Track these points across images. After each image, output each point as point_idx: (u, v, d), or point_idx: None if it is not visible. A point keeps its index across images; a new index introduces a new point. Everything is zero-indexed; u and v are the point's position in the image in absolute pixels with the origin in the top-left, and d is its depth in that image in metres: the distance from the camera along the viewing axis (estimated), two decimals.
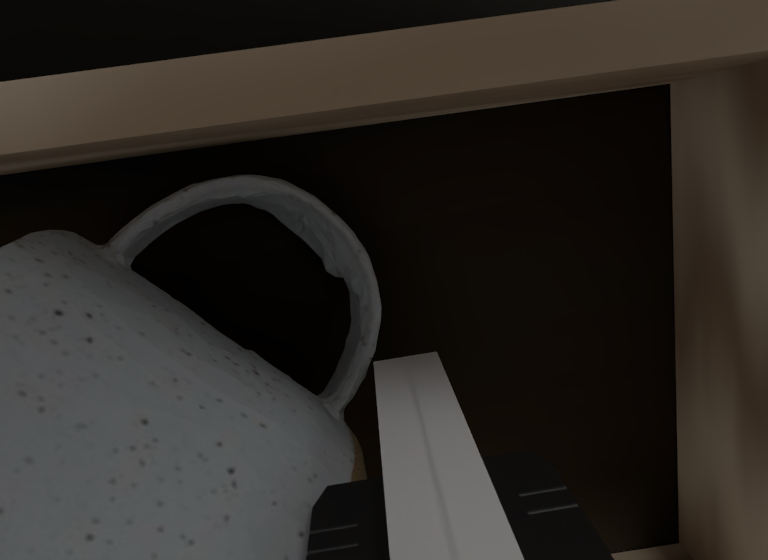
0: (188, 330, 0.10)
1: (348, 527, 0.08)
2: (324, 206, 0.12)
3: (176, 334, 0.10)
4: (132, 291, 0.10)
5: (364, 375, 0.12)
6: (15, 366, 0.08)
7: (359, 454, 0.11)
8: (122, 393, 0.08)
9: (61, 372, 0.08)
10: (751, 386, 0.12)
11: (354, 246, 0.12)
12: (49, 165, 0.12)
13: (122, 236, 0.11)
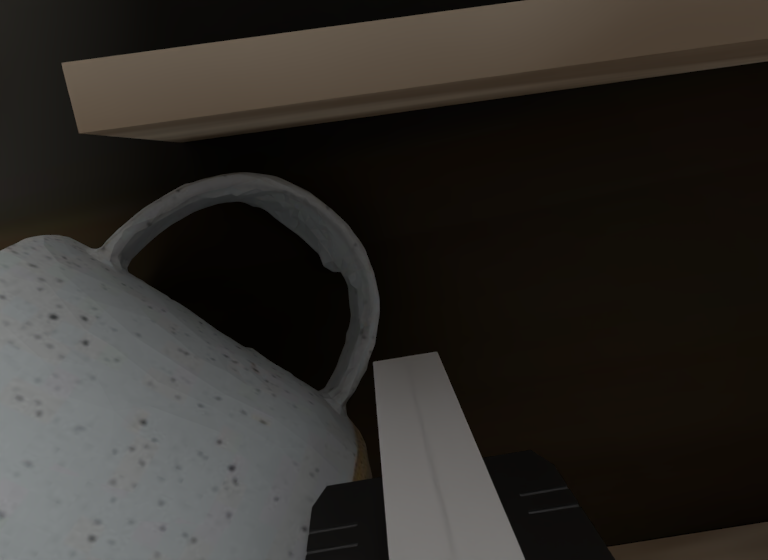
0: (185, 330, 0.10)
1: (347, 527, 0.08)
2: (318, 201, 0.12)
3: (173, 334, 0.10)
4: (128, 293, 0.10)
5: (365, 368, 0.12)
6: (12, 370, 0.08)
7: (362, 447, 0.11)
8: (120, 394, 0.08)
9: (57, 376, 0.08)
10: None
11: (350, 240, 0.12)
12: (391, 110, 0.12)
13: (116, 239, 0.11)
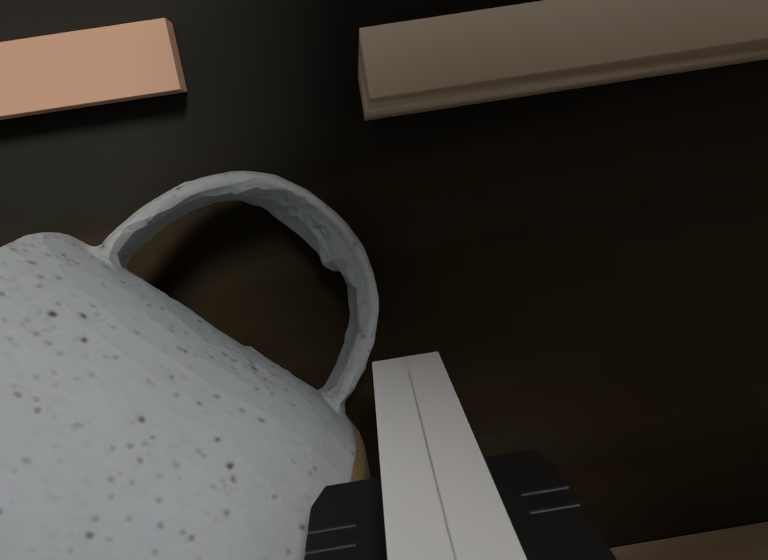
0: (184, 328, 0.10)
1: (346, 527, 0.08)
2: (317, 200, 0.12)
3: (172, 332, 0.10)
4: (127, 291, 0.10)
5: (364, 367, 0.12)
6: (10, 367, 0.08)
7: (361, 446, 0.11)
8: (118, 391, 0.08)
9: (55, 372, 0.08)
10: None
11: (349, 239, 0.12)
12: (585, 83, 0.12)
13: (116, 236, 0.11)
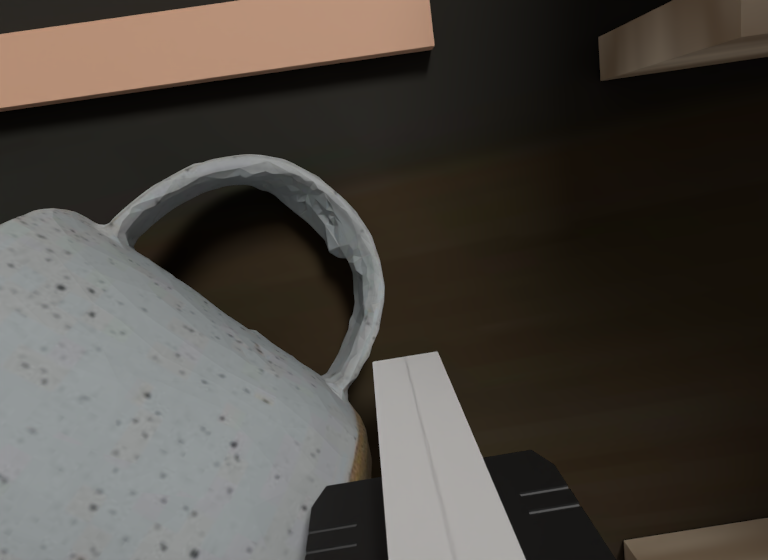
0: (191, 308, 0.10)
1: (347, 527, 0.08)
2: (326, 186, 0.12)
3: (179, 311, 0.10)
4: (135, 269, 0.10)
5: (368, 355, 0.12)
6: (18, 338, 0.08)
7: (363, 432, 0.11)
8: (124, 367, 0.08)
9: (63, 345, 0.08)
10: None
11: (357, 226, 0.12)
12: None
13: (124, 215, 0.11)
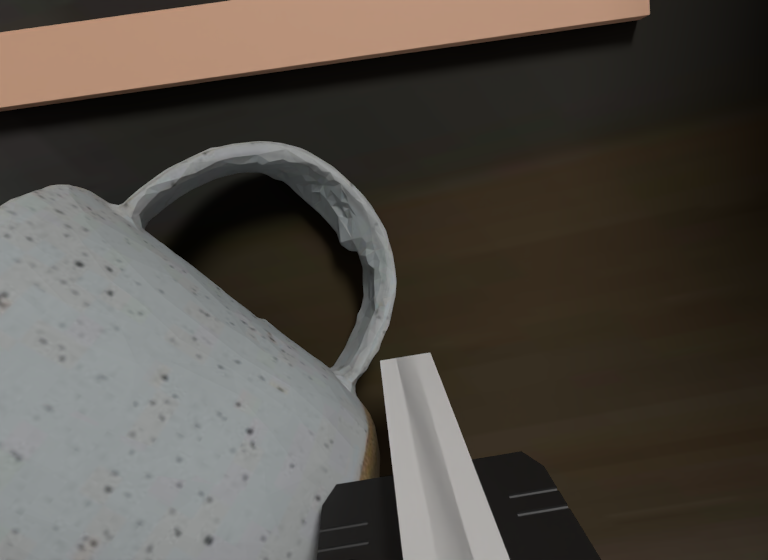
0: (205, 292, 0.10)
1: (358, 525, 0.08)
2: (343, 177, 0.12)
3: (194, 295, 0.10)
4: (150, 250, 0.10)
5: (377, 348, 0.12)
6: (37, 313, 0.08)
7: (372, 426, 0.11)
8: (142, 347, 0.08)
9: (82, 322, 0.08)
10: None
11: (371, 219, 0.12)
12: None
13: (140, 196, 0.11)
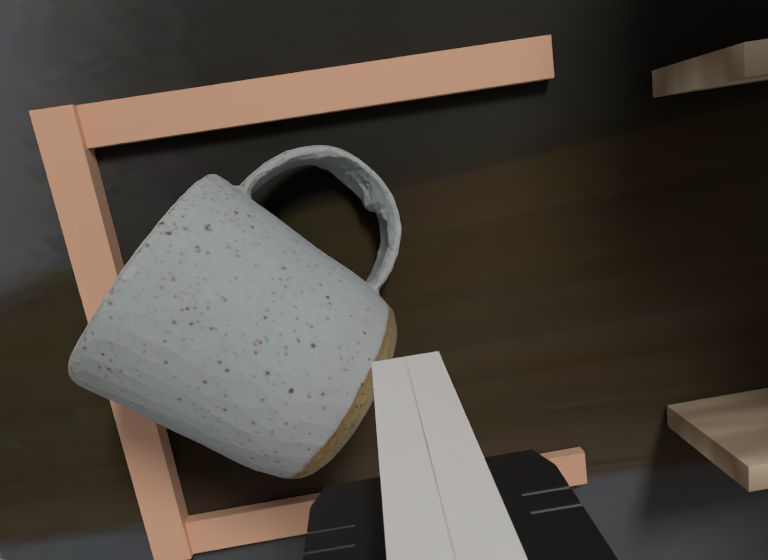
0: (293, 232, 0.18)
1: (345, 527, 0.08)
2: (365, 164, 0.20)
3: (289, 232, 0.17)
4: (262, 209, 0.18)
5: (391, 268, 0.20)
6: (223, 234, 0.15)
7: (391, 309, 0.19)
8: (271, 253, 0.16)
9: (243, 240, 0.15)
10: None
11: (384, 189, 0.20)
12: None
13: (250, 180, 0.18)
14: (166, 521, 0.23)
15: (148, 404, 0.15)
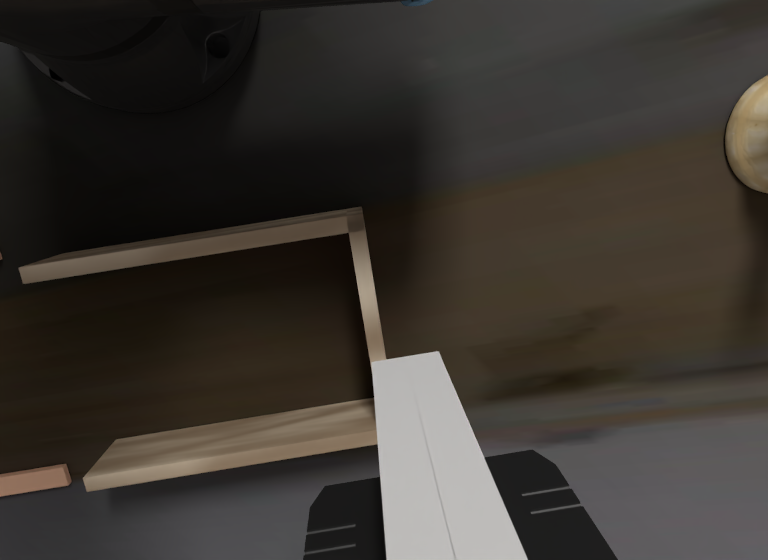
0: None
1: (345, 527, 0.08)
2: None
3: None
4: None
5: None
6: None
7: None
8: None
9: None
10: None
11: None
12: None
13: None
14: None
15: None
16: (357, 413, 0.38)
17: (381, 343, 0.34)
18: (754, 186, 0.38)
